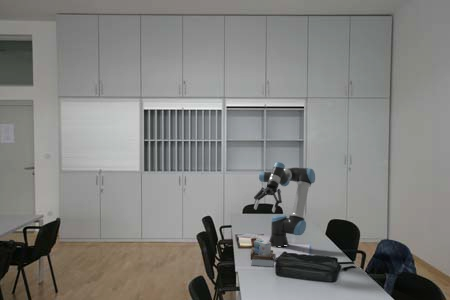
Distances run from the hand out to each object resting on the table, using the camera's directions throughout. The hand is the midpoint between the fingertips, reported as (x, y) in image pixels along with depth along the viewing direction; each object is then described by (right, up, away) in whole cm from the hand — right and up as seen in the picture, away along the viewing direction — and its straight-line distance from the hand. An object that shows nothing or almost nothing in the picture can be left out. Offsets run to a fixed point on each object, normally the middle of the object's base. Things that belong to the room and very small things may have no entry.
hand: (263, 210), depth 227 cm
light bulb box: (+1, -36, +17) cm, 40 cm away
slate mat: (-1, -36, +3) cm, 36 cm away
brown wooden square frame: (+1, -36, +17) cm, 40 cm away
